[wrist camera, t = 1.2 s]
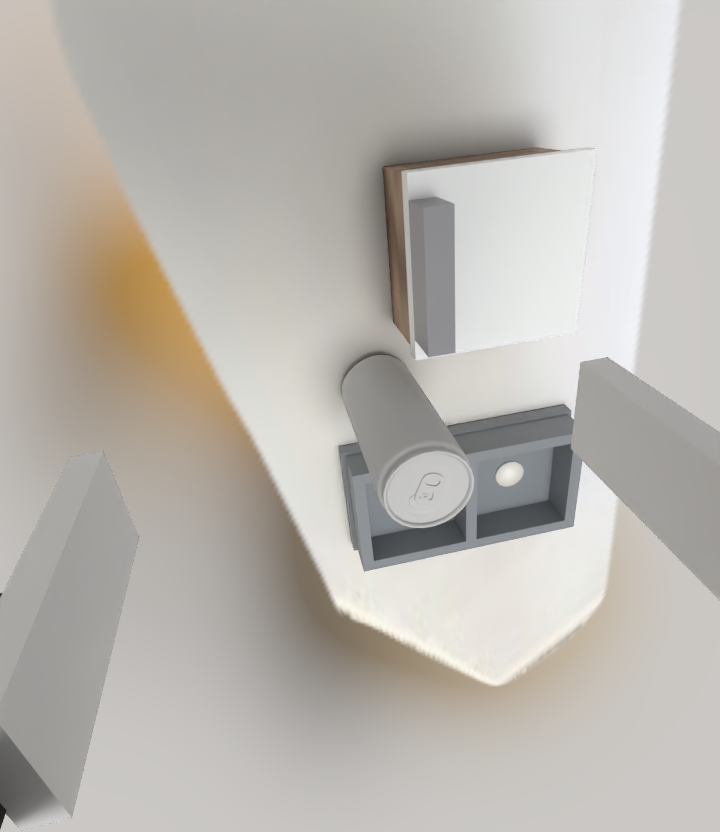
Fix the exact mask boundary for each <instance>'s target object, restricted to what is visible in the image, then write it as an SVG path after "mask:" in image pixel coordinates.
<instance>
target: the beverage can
mask: <svg viewBox="0 0 720 832" xmlns="http://www.w3.org/2000/svg"><path fill="white" fill-rule="evenodd" d="M341 390H342V399H343V402H344V404H345V407H346V410H347V413H348V415H349V418H350V421H351V424H352V426H353V429H354V432H355V435H356V437H357V440H358V443H359V446H360V448H361V451H362V454H363V457H364V459H365V462H366V465H367V467H368V470H369V473H370V476H371V478H372V481H373V484H374V487H375V489H376V492H377V495H378V497H379V500H380V502H381V504H382V506H383V507H384V508H385V509H386V511H387V513H388V514H389V515H390V516H391V517H392V519H393V520H395V521H397V522H398V523H400V524H401V525H404V526H408V527H411V528H427V527H433V526H436V525H439V524H441V523H444V522H446V521H448V520H449V519H451V518H453V517H454V516H456V515H457V514H458V513H459V512H460V511H461V510H462V509H463V508H464V507H465V505H466V504H467V502H468V501H469V499H470V497H471V494H472V492H473V489H474V476H473V472H472V469H471V467H470V463H469V460H468V458H467V456H466V455H465V453H464V452H463V450H462V449H461V447H460V446H459V444H458V443H457V441H456V440H455V438H454V437H453V435H452V434H451V432H450V431H449V429H448V428H447V426H446V425H445V424H444V422H443V421H442V419H441V418H440V416H439V415H438V413H437V412H436V410H435V409H434V407H433V406H432V404H431V403H430V401H429V400H428V398H427V397H426V395H425V394H424V392H423V391H422V389H421V388H420V386H419V385H418V383H417V382H416V380H415V379H414V377H413V376H412V374H411V373H410V371H409V370H408V368H407V367H406V365H405V364H404V363H402V362H401V361H400V360H399V359H397V358H394V357H392V356H389V355H374V356H370V357H368V358H366V359H363V360H362V361H360V362H359V363H357V364H356V365H355V366H354V367H353V368H352V369H351V370H350V371H349V372H348V374H347V375H346V377H345V378H344V380H343V384H342V389H341Z"/></svg>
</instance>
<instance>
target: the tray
mask: <svg viewBox="0 0 720 832" xmlns="http://www.w3.org/2000/svg"><path fill="white" fill-rule="evenodd" d="M555 151H562V150H553V149H544V148H530V149H522V150H514V151H506V152H498V153H490V154H482V155H474V156H466V157H457V158H449V159H441V160H433V161H425V162H417V163H409V164H401V165H393V166H385V167H383V177H384V192H385V207H386V222H387V237H388V252H389V267H390V282H391V296H392V311H393V322H394V324H395V325H396V326H397V328H398V329H399V330H400V332H401V333H402V334H403V336H404V337H405V338H406V340H407V341H408V342H409V344H410V328H409V308H408V289H407V270H406V250H405V231H404V211H403V192H402V172H401V171H404V170H412V169H420V168H428V167H436V166H444V165H452V164H460V163H468V162H476V161H484V160H492V159H499V158H507V157H515V156H523V155H531V154H539V153H547V152H555Z"/></svg>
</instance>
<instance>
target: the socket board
mask: <svg viewBox="0 0 720 832" xmlns="http://www.w3.org/2000/svg"><path fill="white" fill-rule="evenodd" d="M573 425H574V420H573V419H572V418H571V410H570V409H569V408H568V407H567V406H565V405H559V406H554V407H548V408H543V409H538V410H532V411H527V412H521V413H516V414H511V415H505V416H500V417H495V418H489V419H484V420H478V421H473V422H468V423H462V424H457V425H452V426H447V428H448V429H449V431H450V432H451V434H452V435H453V437H454V438H455V440H456V441H457V443H458V444H459V446H460V447H461V449H462V450H463V452H464V453H465V455H466V456H467V458H468V460H469V463H470V467H471V469H472V472H473V476H474V489H473V492H472V494H471V497H470V499H469V501H468V502H467V504H466V505H465V507H464V508H463V509H462V510H461V511H460V512H459V513H458V514H457V515H456V516H454V517H453V518H451V519H449V520H448V521H446V522H444V523H441V524H439V525H436V526H433V527H427V528H411V527H408V526H404V525H401V524H400V523H398V522H397V521H395V520H393V519H392V517H391V516H390V515H389V514H388V513H387V511H386V509H385V508H384V507H383V506H382V504H381V502H380V500H379V497H378V495H377V492H376V489H375V487H374V484H373V481H372V478H371V476H370V473H369V470H368V467H367V465H366V462H365V459H364V457H363V454H362V451H361V448H360V446H359V443H355V444H349V445H344V446H339V452H340V459H341V466H342V474H343V481H344V488H345V496H346V503H347V510H348V518H349V525H350V532H351V540H352V545H353V548H354V551H355V550H358V551H359V555H360V558H361V562H362V566H363V569H364V571H369V570H373V569H378V568H383V567H387V566H392V565H397V564H401V563H406V562H410V561H415V560H420V559H424V558H429V557H434V556H438V555H443V554H448V553H452V552H457V551H462V550H466V549H471V548H476V547H480V546H485V545H489V544H494V543H499V542H503V541H508V540H513V539H517V538H522V537H527V536H531V535H536V534H541V533H545V532H550V531H554V530H559V529H564V528H568V527H573V525H574V518H575V510H576V503H577V496H578V488H579V481H580V473H581V466H582V460H581V459H580V458H579V457H578V456H577V455H576V454H575V453H574V452H573V450H572V449H571V442H572V433H573Z"/></svg>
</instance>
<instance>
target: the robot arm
mask: <svg viewBox="0 0 720 832" xmlns="http://www.w3.org/2000/svg"><path fill="white" fill-rule="evenodd" d="M571 449H572V450H573V452H574V453H575V454H576V455H577V456H578V457H579V458H580V459H581V460H582V461H583V462H584V463H585V464H586V465H587V466H588V467H589V468H590V469H591V470H592V471H593V472H594V473H595V474H596V475H597V476H598V477H599V478H600V479H601V480H602V481H603V482H604V483H605V484H606V485H607V486H608V487H609V488H610V489H611V490H612V491H613V492H614V493H615V494H616V495H617V496H618V497H619V498H620V499H621V500H622V501H623V502H624V503H625V504H626V506H627V507H629V509H630V510H631V511H632V512H633V513H634V514H635V515H636V516H637V517H638V518H639V519H640V520H641V521H642V522H643V523H644V524H645V525H646V526H647V527H648V528H649V529H650V530H651V531H652V532H653V533H654V534H655V535H656V536H657V537H658V538H659V539H660V540H661V541H662V542H663V543H664V544H665V545H666V546H667V547H668V548H669V549H670V550H671V551H672V552H673V553H674V554H675V555H676V556H677V557H678V559H679V560H680V561H681V562H683V564H684V565H685V566H686V567H687V568H688V569H689V570H691V572H692V573H693V574H694V575H695V576H696V577H697V578H698V579H699V580H700V581H701V582H702V583H703V584H704V585H705V586H706V587H707V588H708V589H709V590H710V591H711V592H712V593H713V594H714V595H715V596H716V597H717V598H718V599H719V600H720V432H719V431H717V430H716V429H714V428H713V427H711V426H710V425H708V424H706V423H705V422H704V421H702V420H701V419H699V418H698V417H696V416H695V415H693V414H692V413H690V412H689V411H687V410H686V409H684V408H683V407H681V406H680V405H678V404H677V403H675V402H674V401H672V400H671V399H669V398H668V397H666V396H664V395H663V394H662V393H660V392H659V391H657V390H656V389H654V388H653V387H651V386H650V385H648V384H647V383H645V382H644V381H642V380H641V379H639V378H638V377H636V376H635V375H633V374H632V373H630V372H629V371H627V370H626V369H624V368H623V367H621V366H620V365H618V364H617V363H615V362H614V361H612V360H611V359H609V358H608V357H606V358H601V359H596V360H590V361H585V362H581V363H580V372H579V380H578V389H577V398H576V407H575V416H574V425H573V433H572V442H571ZM138 540H139V535H138V532H137V530H136V528H135V525H134V523H133V521H132V518H131V516H130V513H129V511H128V508H127V506H126V504H125V501H124V499H123V496H122V494H121V492H120V489H119V487H118V484H117V482H116V480H115V477H114V475H113V472H112V470H111V467H110V465H109V463H108V461H107V458H106V456H105V453H104V451H99V452H93V453H88V454H83V455H78V456H72V457H70V458H69V460H68V462H67V464H66V466H65V469H64V470H63V472H62V475H61V476H60V478H59V480H58V482H57V484H56V486H55V488H54V490H53V492H52V494H51V497H50V499H49V501H48V503H47V505H46V507H45V509H44V511H43V513H42V515H41V517H40V519H39V521H38V523H37V525H36V527H35V529H34V531H33V533H32V535H31V537H30V539H29V541H28V543H27V545H26V547H25V549H24V551H23V553H22V555H21V557H20V559H19V561H18V563H17V565H16V567H15V569H14V571H13V573H12V575H11V577H10V579H9V581H8V583H7V585H6V587H5V589H4V591H3V593H0V828H1V825H2V822H3V819H4V816H5V814H7V815H8V816H9V818H11V820H12V821H13V822H14V823H15V824H16V825H17V827H18V828H19V829H20V830H21V831H23V830H27V829H30V828H35V827H38V826H42V825H46V824H50V823H54V822H58V821H62V820H65V819H69V818H72V815H73V811H74V807H75V803H76V799H77V795H78V790H79V786H80V782H81V778H82V773H83V770H84V765H85V761H86V757H87V753H88V749H89V745H90V740H91V736H92V732H93V728H94V724H95V719H96V715H97V711H98V707H99V703H100V699H101V694H102V690H103V686H104V682H105V678H106V674H107V669H108V665H109V661H110V657H111V653H112V649H113V644H114V640H115V636H116V632H117V627H118V624H119V619H120V615H121V611H122V607H123V603H124V598H125V594H126V590H127V586H128V582H129V577H130V574H131V569H132V565H133V561H134V557H135V552H136V548H137V544H138Z"/></svg>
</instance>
